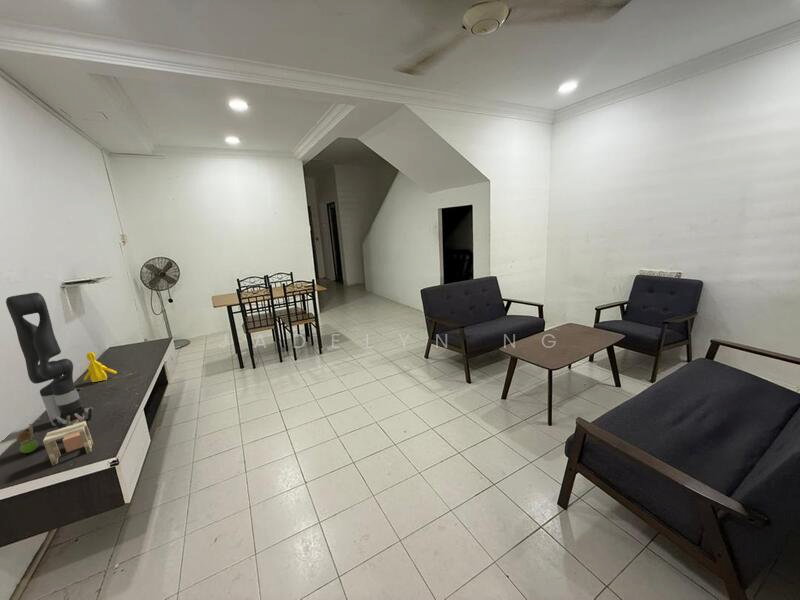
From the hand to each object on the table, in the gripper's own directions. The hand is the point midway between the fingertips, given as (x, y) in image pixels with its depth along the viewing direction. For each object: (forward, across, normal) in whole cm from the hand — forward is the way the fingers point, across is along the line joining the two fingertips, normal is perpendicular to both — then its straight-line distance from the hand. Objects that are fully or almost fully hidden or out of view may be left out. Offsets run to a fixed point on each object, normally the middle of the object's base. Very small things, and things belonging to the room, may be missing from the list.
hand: (79, 431), depth 153 cm
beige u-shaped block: (+2, 0, +18) cm, 19 cm away
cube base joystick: (+2, 0, +6) cm, 7 cm away
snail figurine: (+2, +16, 0) cm, 16 cm away
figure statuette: (+2, -1, -78) cm, 78 cm away
